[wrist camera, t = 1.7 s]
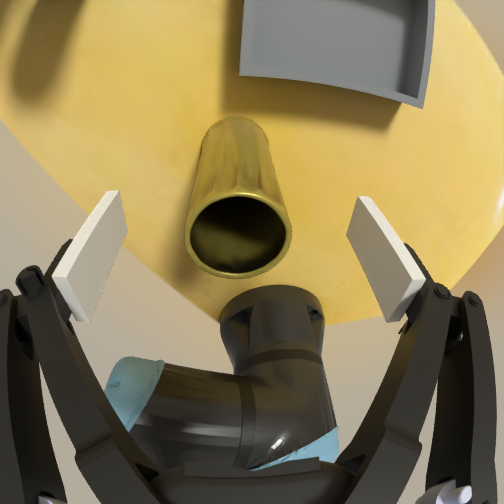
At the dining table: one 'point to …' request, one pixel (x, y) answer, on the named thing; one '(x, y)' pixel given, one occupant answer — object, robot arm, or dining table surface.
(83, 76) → the dining table surface
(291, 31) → the tray
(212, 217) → the vase
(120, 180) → the dining table surface
